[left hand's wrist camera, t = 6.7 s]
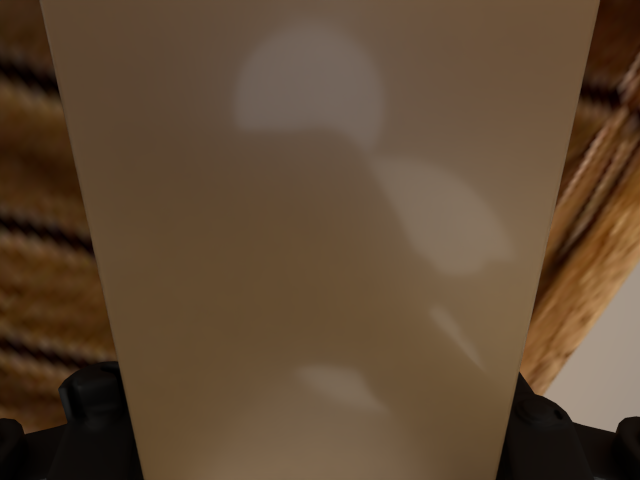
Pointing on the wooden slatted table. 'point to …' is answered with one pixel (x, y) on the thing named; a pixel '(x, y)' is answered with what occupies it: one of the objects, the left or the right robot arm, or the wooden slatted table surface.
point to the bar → (319, 221)
